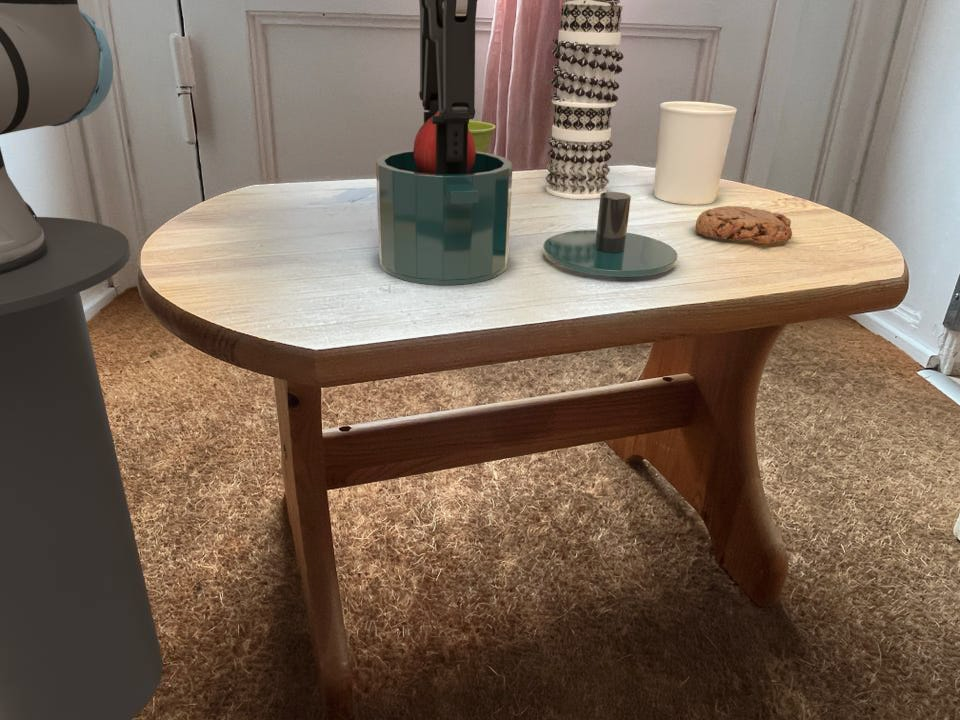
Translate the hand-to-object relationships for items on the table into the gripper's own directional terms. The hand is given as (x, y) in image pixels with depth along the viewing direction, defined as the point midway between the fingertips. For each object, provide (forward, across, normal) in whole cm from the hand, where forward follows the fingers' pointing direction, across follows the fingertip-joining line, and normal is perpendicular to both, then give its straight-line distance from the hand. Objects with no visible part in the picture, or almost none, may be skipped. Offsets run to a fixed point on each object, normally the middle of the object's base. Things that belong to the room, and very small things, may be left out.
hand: (444, 188), depth 70 cm
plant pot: (+8, +30, -8) cm, 32 cm away
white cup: (+8, +22, -38) cm, 45 cm away
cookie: (+8, +4, -36) cm, 37 cm away
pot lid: (+7, -2, -17) cm, 18 cm away
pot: (+7, 0, 0) cm, 7 cm away
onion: (0, 0, 0) cm, 0 cm away
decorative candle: (+8, +28, -24) cm, 37 cm away
